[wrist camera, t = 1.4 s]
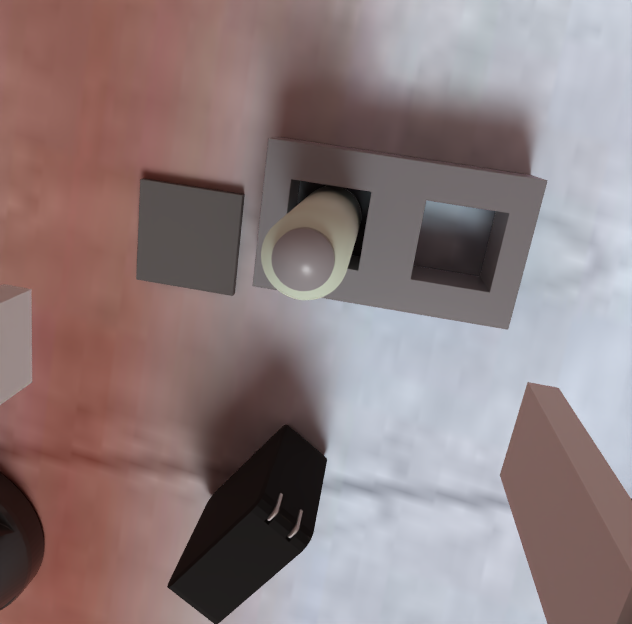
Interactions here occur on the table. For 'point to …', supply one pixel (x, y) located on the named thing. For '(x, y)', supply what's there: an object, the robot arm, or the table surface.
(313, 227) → the plug
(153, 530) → the table surface
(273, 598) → the table surface
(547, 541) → the robot arm
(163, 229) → the coaster
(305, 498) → the electronic device
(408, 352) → the table surface
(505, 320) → the gray cinder block
